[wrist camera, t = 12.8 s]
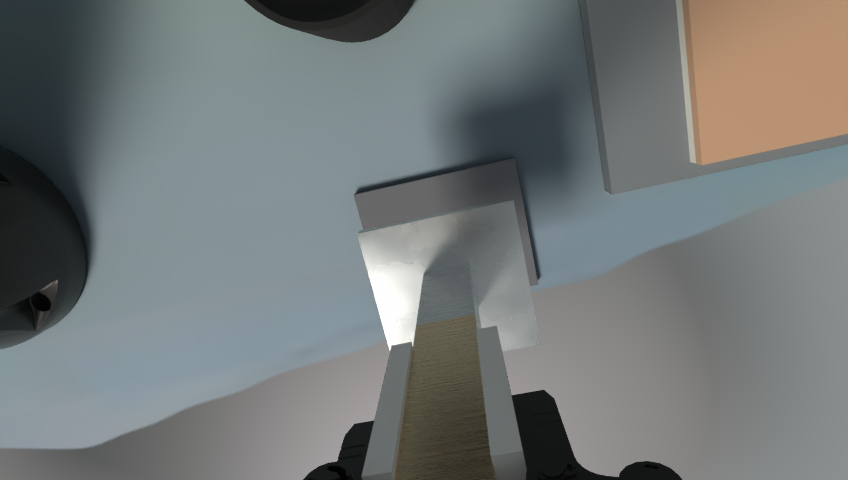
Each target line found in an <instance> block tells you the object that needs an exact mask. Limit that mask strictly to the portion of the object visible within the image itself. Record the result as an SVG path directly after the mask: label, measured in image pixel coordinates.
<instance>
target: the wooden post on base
mask: <svg viewBox="0 0 848 480" xmlns="http://www.w3.org/2000/svg"><path fill="white" fill-rule="evenodd" d="M357 235H358V239H359V242H360V246H361V249H362V253H363V257H364V260H365V264H366V267H367V271H368V275H369V278H370V282H371V285H372V289H373V292H374V296H375V300H376V303H377V307H378V310H379V314H380V317H381V321H382V325H383V328H384V332H385V335H386V339H387V342H388V346H389V349H390V350H391V346H392V345H397V344H402V343H407V342H412V345H413V352H412V359H411V366H410V373H409V380H408V387H407V394H406V401H405V408H404V415H403V422H402V429H401V436H400V443H399V450H398V457H397V464H396V471H395V478H394V480H497V479H496V474H495V470H494V466H493V464H492V460H491V456H490V447H489V438H488V429H487V421H486V412H485V403H484V395H483V386H482V377H481V368H480V360H479V351H478V342H477V334H476V329H481V328H486V327H491V326H497V329H498V334H499V338H500V343H501V348H502V351H508V350H513V349H518V348H524V347H530V346H535V345H540V344H541V342H540V337H539V332H538V327H537V321H536V316H535V310H534V306H533V300H532V295H531V289H530V284H529V279H528V273H527V268H526V263H525V258H524V252H523V247H522V242H521V236H520V231H519V226H518V220H517V215H516V210H515V205H514V200H513V198H508V199H504V200H499V201H495V202H490V203H485V204H481V205H476V206H472V207H467V208H462V209H458V210H453V211H449V212H444V213H439V214H435V215H430V216H426V217H421V218H416V219H412V220H407V221H403V222H398V223H394V224H389V225H384V226H380V227H375V228H371V229H366V230H361V231H359V232H358V234H357Z"/></svg>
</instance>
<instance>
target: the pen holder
mask: <svg viewBox="0 0 848 480" xmlns="http://www.w3.org/2000/svg"><path fill="white" fill-rule="evenodd" d="M244 1H246V2H247V3H248V4H249V5H250V6H252V7H253V8H254V9H255V10H257V11H258V12H260V13H261V14H263V15H264V16H266V17H267V18H269V19H271V20H273V21H275V22H276V23H278V24H281V25H283V26H286V27H289V28H292V29H296V30H299V31H302V32H306V33H309V34H313V35H316V36H320V37H323V38H327V39H332V40H337V41H341V42H363V41H367V40H371V39H374V38H377V37H379V36H381V35H383V34H385V33H387V32H388V31H390V30H391V29H392V28H394V27H395V26H396V25H397V24H398V23H399V22H400V21H401V20H402V19H403V17H404V16H405V15H406V14H407V12H408V11H409V9H410V7H411V6H412V4H413V2H414V0H244Z"/></svg>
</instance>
